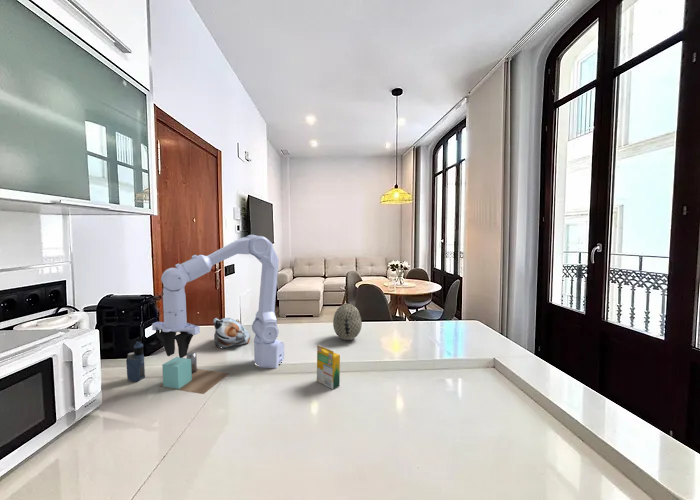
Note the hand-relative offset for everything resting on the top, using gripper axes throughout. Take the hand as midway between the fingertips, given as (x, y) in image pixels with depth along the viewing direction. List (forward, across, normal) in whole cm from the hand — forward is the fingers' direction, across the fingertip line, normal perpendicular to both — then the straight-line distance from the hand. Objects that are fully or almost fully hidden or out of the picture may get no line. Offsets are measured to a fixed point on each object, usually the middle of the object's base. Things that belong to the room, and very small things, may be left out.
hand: (176, 355), depth 93 cm
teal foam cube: (+8, 0, 0) cm, 8 cm away
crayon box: (+10, +42, +13) cm, 45 cm away
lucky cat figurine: (+10, -3, +32) cm, 33 cm away
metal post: (+9, -1, +7) cm, 12 cm away
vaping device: (+10, -15, 0) cm, 18 cm away
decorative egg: (+10, +39, +49) cm, 63 cm away
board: (+9, +4, +3) cm, 10 cm away
